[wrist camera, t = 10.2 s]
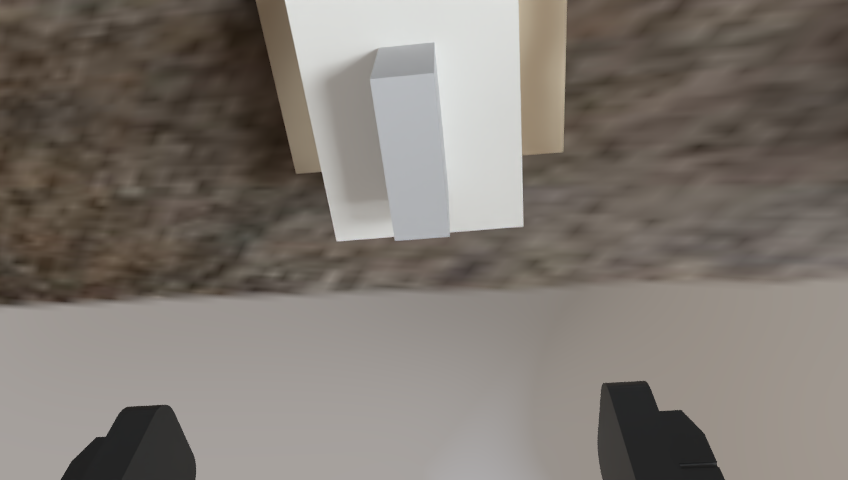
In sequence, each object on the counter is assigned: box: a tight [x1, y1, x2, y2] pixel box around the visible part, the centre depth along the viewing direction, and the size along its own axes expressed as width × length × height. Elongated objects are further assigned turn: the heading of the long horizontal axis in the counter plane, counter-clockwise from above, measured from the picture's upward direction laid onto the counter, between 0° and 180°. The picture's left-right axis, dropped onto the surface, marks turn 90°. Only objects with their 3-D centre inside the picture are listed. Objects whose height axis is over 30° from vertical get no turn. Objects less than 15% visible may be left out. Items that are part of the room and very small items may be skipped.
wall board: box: [256, 0, 567, 174], centre depth 29 cm, size 14×10×4 cm
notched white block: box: [285, 0, 523, 241], centre depth 25 cm, size 8×10×10 cm
